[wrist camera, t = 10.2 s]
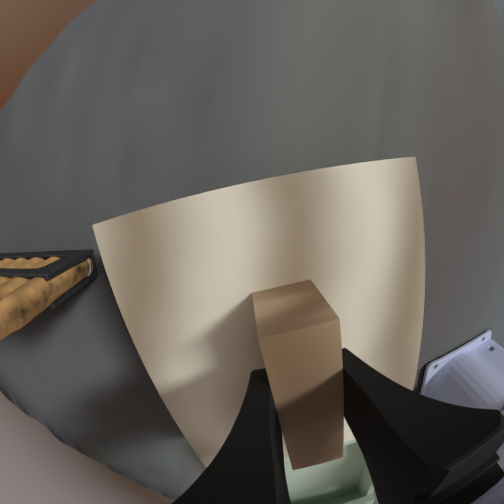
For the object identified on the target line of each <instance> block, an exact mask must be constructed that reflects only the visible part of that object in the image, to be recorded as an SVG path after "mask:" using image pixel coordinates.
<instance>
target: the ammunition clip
mask: <svg viewBox="0 0 504 504" xmlns="http://www.w3.org/2000/svg"><path fill="white" fill-rule="evenodd" d="M97 277H98V275H97V269H96V263H95V257H94V251H93V250H67V251H44V252H22V253H0V341H1V340H2V339H4V338H5V337H6V336H8V335H9V334H10V333H12V332H15V331H17V330H19V329H21V328H23V327H24V326H25V325H26V324H28V323H29V322H30V321H31V320H32V319H34V318H35V317H36V316H37V315H39V314H40V313H41V312H42V311H44V310H45V309H55V308H57V307H58V306H59V305H61V304H62V303H63V302H64V301H66V300H67V299H68V298H70V297H71V296H72V295H74V294H75V293H76V292H78V291H79V290H80V289H82V288H83V287H84V286H86V285H87V284H89V283H90V282H91V281H93V280H94V279H95V278H97Z"/></svg>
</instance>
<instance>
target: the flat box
mask: <svg viewBox="0 0 504 504" xmlns="http://www.w3.org/2000/svg"><path fill="white" fill-rule="evenodd" d="M284 466H285V475H286V481H287V486H288V491H289V496H290V501H291V504H373V502H374V500H375V497H374V495H373V492H374V486H373V483H372V480H371V477H370V473H369V471H368V468H367V465H366V462H365V459H364V456H363V454H362V452H361V449H360V447H359V445H358V443H357V441H356V439H354V440H351V441H348V442H345V443H343V458H339V459H336V460H333V461H329V462H326V463H322V464H318V465H314V466H310V467H306V468H302V469H297V470H292V466H291V463H290V459H289V457H287V458H284Z"/></svg>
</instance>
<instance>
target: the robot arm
mask: <svg viewBox="0 0 504 504" xmlns="http://www.w3.org/2000/svg"><path fill="white" fill-rule="evenodd" d="M491 333H492V332H491V331H490V330H488V331H486V332H484V333H483V334H481V335H480V336H478V337H476V338H475V339H473V340H471V341H470V342H468V343H466V344H465V345H463V346H461V347H459V348H458V349H456V350H454V351H452V352H450V353H448V354H447V355H445V356H443V357H441V358H439V359H437V360H435V361H433V362H431V363H429V364H428V365H427V366H426V369H425V374H424V378H423V383H422V387H421V391H420V394H419V393H417V392H414V391H412V390H410V389H408V388H406V387H404V386H402V385H400V384H398V383H396V382H395V381H393V380H391V379H389V378H388V377H386V376H384V375H383V374H381V373H380V372H378V371H377V370H375V369H374V368H372V367H371V366H369V365H368V364H367V363H365V362H364V361H362V360H361V359H360V358H358V357H357V356H356V355H354V354H353V353H352V352H351V351H349V350H348V349H347V348H342V362H343V388H344V418H345V420H346V422H347V424H348V426H349V427H350V429H351V431H352V433H353V435H354V437H355V439H356V441H357V443H358V445H359V447H360V449H361V452H362V454H363V456H364V459H365V462H366V465H367V468H368V471H369V473H370V477H371V480H372V483H373V486H374V489H375V492H376V496H377V499H378V503H379V504H504V349H503V348H502V347H501V346H499V345H498V344H497V343H496V342H494V341H493V340H492V339H490V338H491ZM172 504H291V501H290V496H289V491H288V486H287V481H286V475H285V466H284V452H283V439H282V429H281V425H280V422H279V418H278V414H277V410H276V406H275V403H274V399H273V395H272V391H271V387H270V383H269V379H268V376H267V372H266V368H262V369H257V370H253V371H252V372H251V373H250V378H249V383H248V387H247V391H246V394H245V397H244V400H243V403H242V406H241V408H240V411H239V413H238V416H237V418H236V420H235V422H234V425H233V427H232V429H231V431H230V433H229V435H228V437H227V438H226V440H225V442H224V444H223V445H222V447H221V448H220V450H219V452H218V453H217V454H216V456H215V457H214V459H213V460H212V462H211V463H210V464H209V466H208V467H207V468H206V470H205V471H204V472H203V473H202V474H201V475H200V477H199V478H198V479H197V480H196V481H195V482H194V483H193V484H192V485H191V486H190V488H189V489H188V490H186V491H185V492H184V493H183V494H182V495H181V496H180V497H179V498H178V499H176V500H175V501H174V502H173V503H172Z"/></svg>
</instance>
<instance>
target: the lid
mask: <svg viewBox="0 0 504 504" xmlns="http://www.w3.org/2000/svg"><path fill="white" fill-rule="evenodd" d="M93 229H94V233H95V237H96V240H97V244H98V247H99V251H100V254H101V257H102V260H103V264H104V267H105V270H106V273H107V276H108V279H109V282H110V285H111V287H112V290H113V293H114V296H115V298H116V301H117V304H118V306H119V309H120V311H121V314H122V316H123V319H124V321H125V324H126V326H127V329H128V331H129V333H130V336H131V338H132V340H133V342H134V345H135V347H136V349H137V351H138V353H139V355H140V357H141V360H142V362H143V364H144V366H145V368H146V370H147V372H148V374H149V376H150V378H151V380H152V382H153V383H154V385H155V387H156V389H157V391H158V393H159V395H160V396H161V398H162V400H163V402H164V404H165V405H166V407H167V409H168V411H169V412H170V414H171V416H172V417H173V419H174V421H175V422H176V424H177V426H178V427H179V429H180V430H181V432H182V433H183V435H184V437H185V438H186V440H187V441H188V443H189V444H190V446H191V447H192V449H193V450H194V452H195V453H196V454H197V456H198V457H199V459H200V460H201V462H202V463H203V464H204V466H205V467H206V468H207V467H208V466H209V464H210V463H211V462H212V460H213V459H214V457H215V456H216V454H217V453H218V452H219V450H220V448H221V447H222V445H223V444H224V442H225V440H226V438H227V437H228V435H229V433H230V431H231V429H232V427H233V425H234V422H235V420H236V418H237V416H238V413H239V411H240V408H241V406H242V403H243V400H244V397H245V394H246V391H247V387H248V383H249V378H250V373H251V372H252V371H253V370H257V369H262V368H266V372H267V376H268V379H269V383H270V387H271V391H272V395H273V399H274V403H275V406H276V410H277V414H278V418H279V422H280V425H281V429H282V439H283V452H284V458H287V457H289V459H290V463H291V466H292V470H297V469H302V468H306V467H310V466H314V465H318V464H322V463H326V462H329V461H333V460H336V459H339V458H343V443H345V442H348V441H351V440H354V439H355V437H354V435H353V433H352V431H351V429H350V427H349V426H348V424H347V422H346V420H345V418H344V388H343V362H342V348H347V349H348V350H349V351H351V352H352V353H353V354H354V355H356V356H357V357H358V358H360V359H361V360H362V361H364V362H365V363H367V364H368V365H369V366H371V367H372V368H374V369H375V370H377V371H378V372H380V373H381V374H383V375H384V376H386V377H388V378H389V379H391V380H393V381H395V382H396V383H398V384H400V385H402V386H404V387H406V388H408V389H410V390H412V391H413V388H414V383H415V377H416V372H417V366H418V359H419V352H420V344H421V336H422V326H423V314H424V296H425V240H424V223H423V211H422V201H421V192H420V184H419V177H418V171H417V164H416V159H415V157H407V158H397V159H388V160H379V161H371V162H363V163H356V164H348V165H342V166H335V167H328V168H322V169H316V170H310V171H304V172H299V173H293V174H288V175H283V176H277V177H272V178H267V179H262V180H257V181H253V182H248V183H243V184H239V185H234V186H230V187H226V188H221V189H217V190H213V191H209V192H205V193H201V194H197V195H193V196H189V197H185V198H181V199H177V200H174V201H170V202H166V203H163V204H159V205H156V206H152V207H149V208H145V209H142V210H138V211H135V212H132V213H128V214H125V215H122V216H119V217H116V218H112V219H109V220H106V221H103V222H100V223H97V224H94V225H93Z"/></svg>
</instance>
